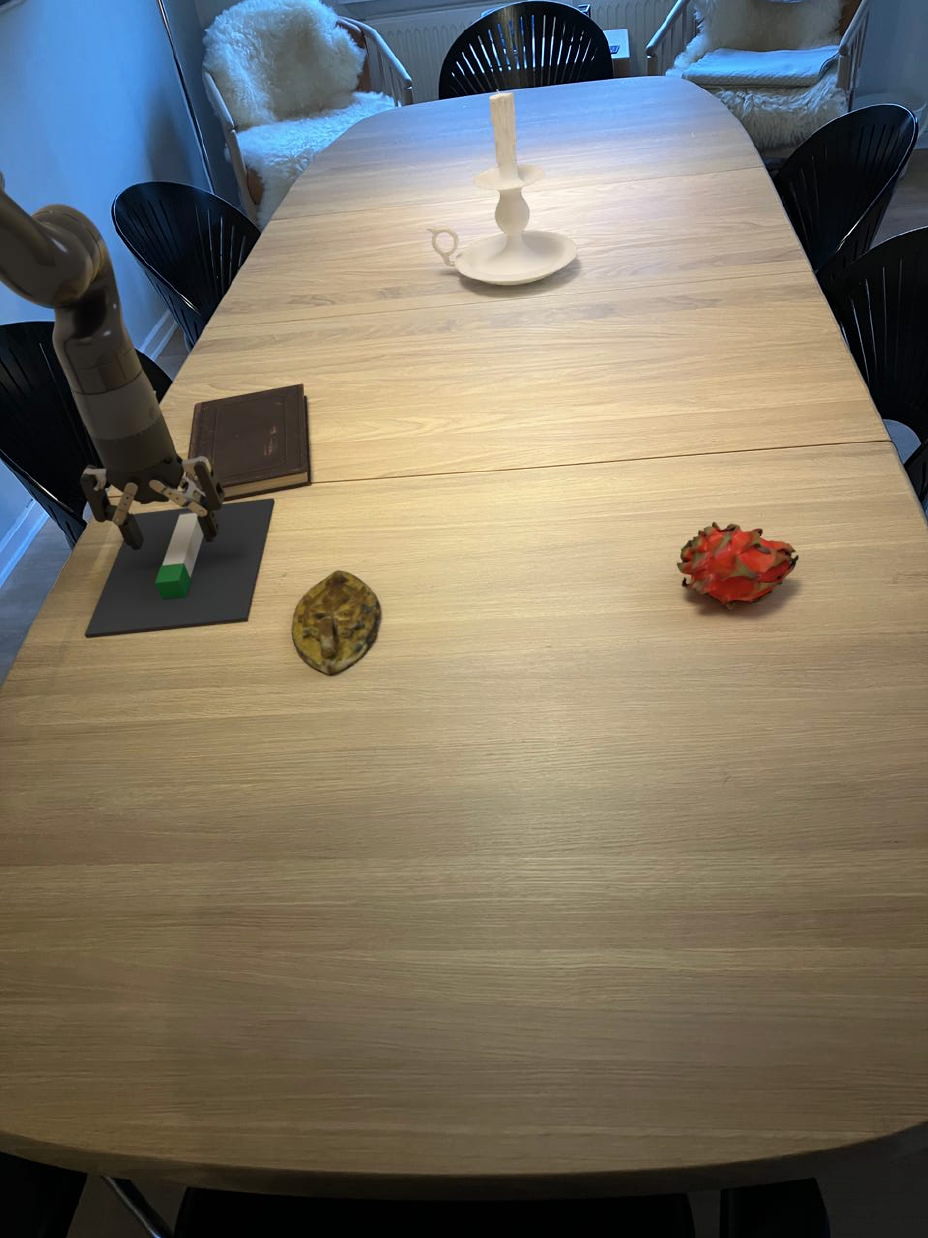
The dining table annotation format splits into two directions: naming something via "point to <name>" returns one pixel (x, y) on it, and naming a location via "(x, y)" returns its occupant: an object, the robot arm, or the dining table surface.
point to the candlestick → (509, 217)
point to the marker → (180, 557)
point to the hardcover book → (254, 441)
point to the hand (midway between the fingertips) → (175, 541)
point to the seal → (335, 622)
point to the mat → (215, 578)
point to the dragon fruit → (735, 564)
